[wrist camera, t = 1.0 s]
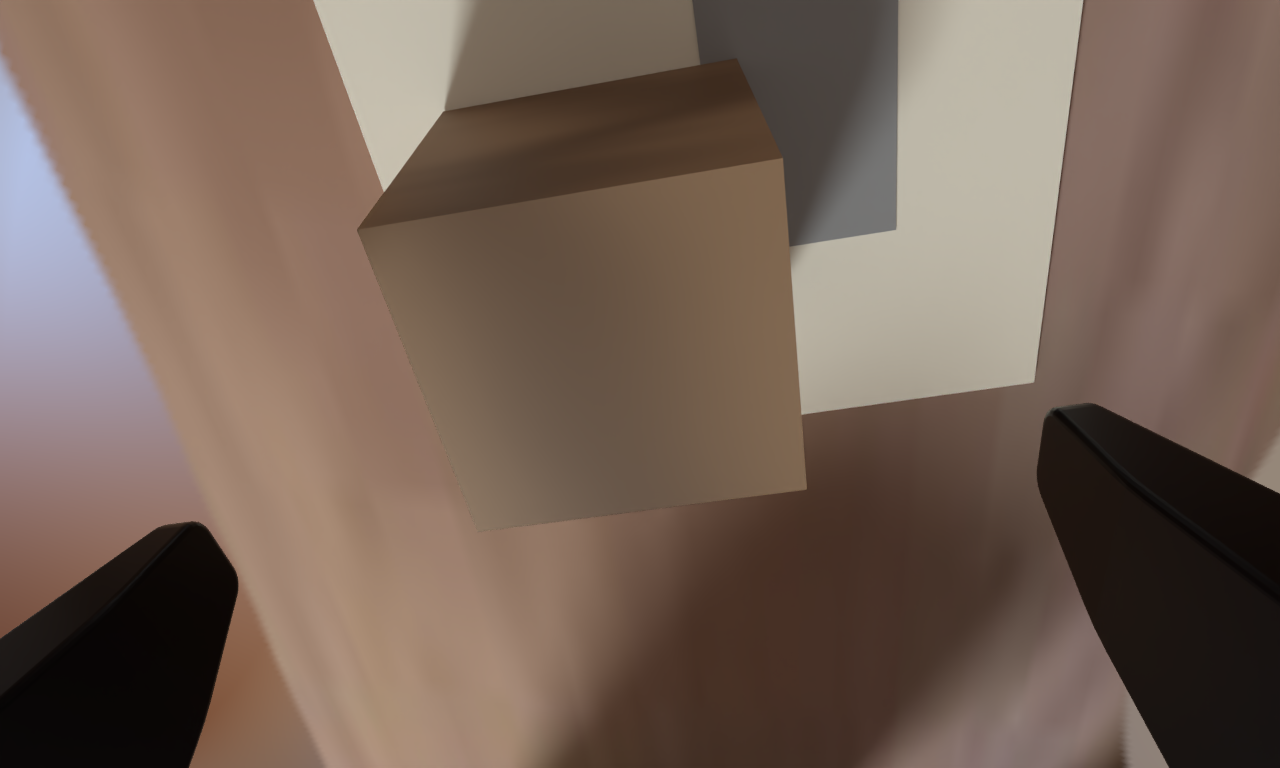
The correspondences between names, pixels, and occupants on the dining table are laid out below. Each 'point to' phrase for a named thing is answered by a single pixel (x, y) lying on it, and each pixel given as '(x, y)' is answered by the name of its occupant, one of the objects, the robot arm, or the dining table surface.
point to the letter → (805, 150)
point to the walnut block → (599, 297)
